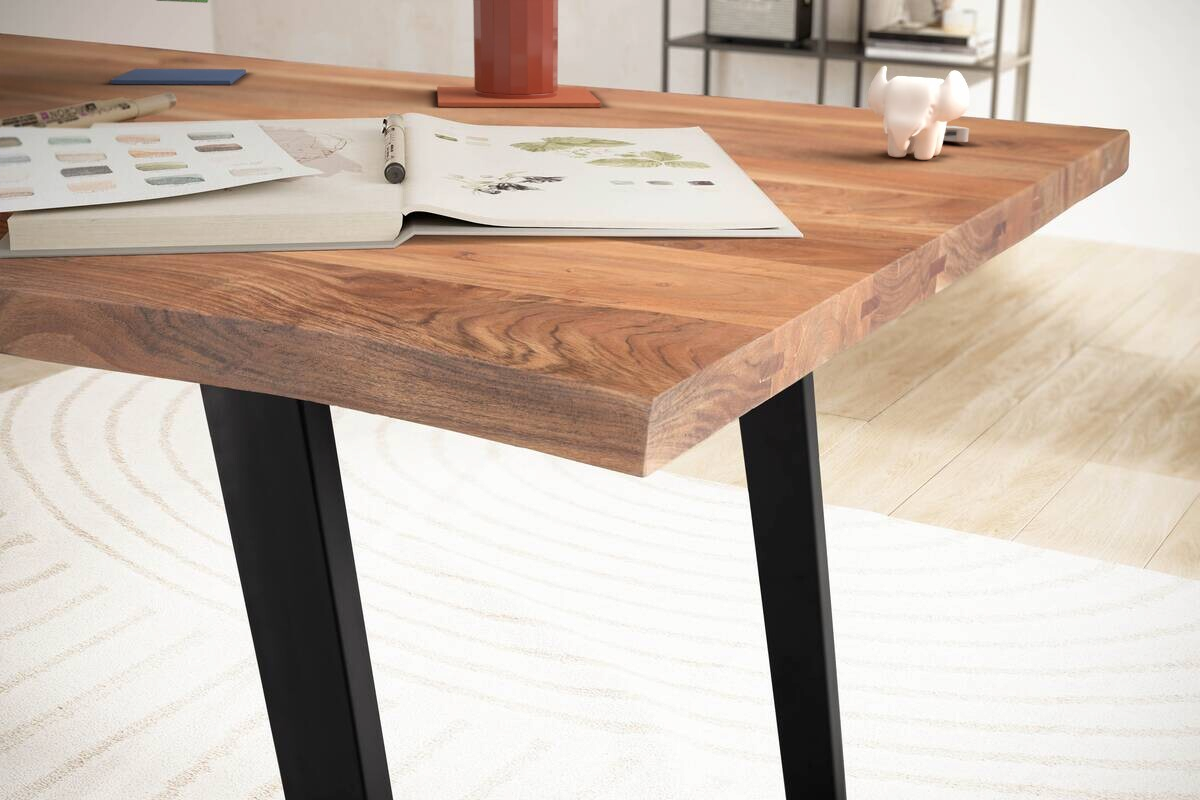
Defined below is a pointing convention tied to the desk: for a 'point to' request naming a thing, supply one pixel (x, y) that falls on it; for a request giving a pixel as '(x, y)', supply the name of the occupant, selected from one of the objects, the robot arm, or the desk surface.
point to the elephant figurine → (917, 110)
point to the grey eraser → (956, 134)
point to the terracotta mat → (469, 99)
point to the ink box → (187, 0)
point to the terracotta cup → (515, 48)
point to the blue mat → (180, 76)
